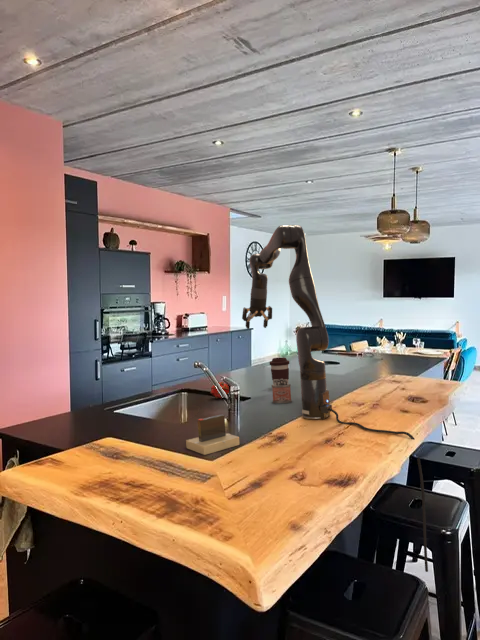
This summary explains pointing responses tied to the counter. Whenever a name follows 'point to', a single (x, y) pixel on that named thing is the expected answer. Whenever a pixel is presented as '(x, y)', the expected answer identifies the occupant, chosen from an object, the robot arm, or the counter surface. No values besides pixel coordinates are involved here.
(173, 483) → the counter surface
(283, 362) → the coffee cup
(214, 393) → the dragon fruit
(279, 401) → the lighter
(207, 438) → the dark brown block
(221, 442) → the beige square slab
